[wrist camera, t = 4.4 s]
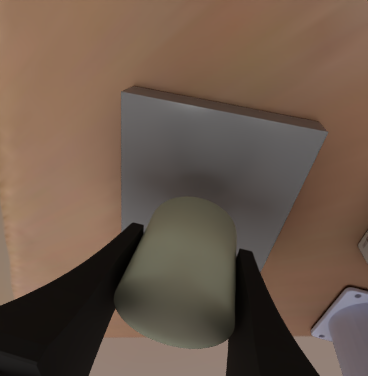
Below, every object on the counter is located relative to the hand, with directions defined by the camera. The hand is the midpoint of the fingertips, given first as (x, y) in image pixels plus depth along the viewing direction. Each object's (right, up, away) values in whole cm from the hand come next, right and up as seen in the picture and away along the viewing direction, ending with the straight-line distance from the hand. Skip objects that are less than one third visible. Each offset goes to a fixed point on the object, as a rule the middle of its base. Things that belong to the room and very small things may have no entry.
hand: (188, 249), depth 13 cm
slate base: (+1, +4, +6) cm, 7 cm away
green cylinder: (0, +1, +1) cm, 1 cm away
